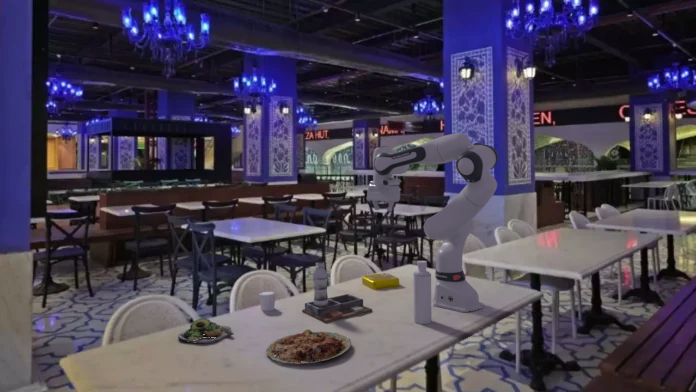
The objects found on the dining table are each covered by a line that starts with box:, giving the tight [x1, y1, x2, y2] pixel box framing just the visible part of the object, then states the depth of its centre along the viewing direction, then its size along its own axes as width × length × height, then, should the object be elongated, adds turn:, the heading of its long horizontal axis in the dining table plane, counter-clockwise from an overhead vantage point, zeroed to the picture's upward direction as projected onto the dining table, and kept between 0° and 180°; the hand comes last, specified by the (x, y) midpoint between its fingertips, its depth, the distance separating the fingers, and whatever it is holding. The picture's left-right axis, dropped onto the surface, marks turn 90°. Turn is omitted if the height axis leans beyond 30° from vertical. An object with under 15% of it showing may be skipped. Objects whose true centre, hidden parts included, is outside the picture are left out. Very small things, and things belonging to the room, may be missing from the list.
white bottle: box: [413, 260, 432, 325], centre depth 183 cm, size 7×7×25 cm
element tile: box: [361, 272, 400, 291], centre depth 240 cm, size 15×15×5 cm
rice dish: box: [266, 329, 352, 365], centre depth 158 cm, size 28×28×5 cm
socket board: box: [301, 293, 373, 324], centre depth 198 cm, size 18×23×4 cm
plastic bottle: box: [312, 261, 329, 308], centre depth 196 cm, size 6×7×20 cm
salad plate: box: [177, 318, 234, 344], centre depth 173 cm, size 19×18×5 cm
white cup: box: [258, 290, 276, 312], centre depth 204 cm, size 7×7×7 cm
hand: (383, 210), depth 223 cm, fingers open, 8 cm apart
